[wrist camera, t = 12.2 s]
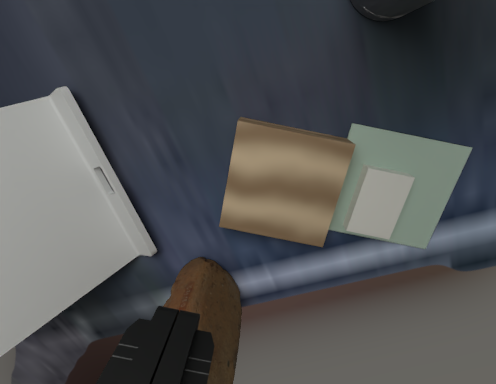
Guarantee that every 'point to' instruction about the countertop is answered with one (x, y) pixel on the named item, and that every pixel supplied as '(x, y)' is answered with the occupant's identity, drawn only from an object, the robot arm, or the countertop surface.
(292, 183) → the board
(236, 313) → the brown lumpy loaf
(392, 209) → the pale grey rectangular block
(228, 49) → the countertop surface
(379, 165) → the mat
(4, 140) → the tablet stand
